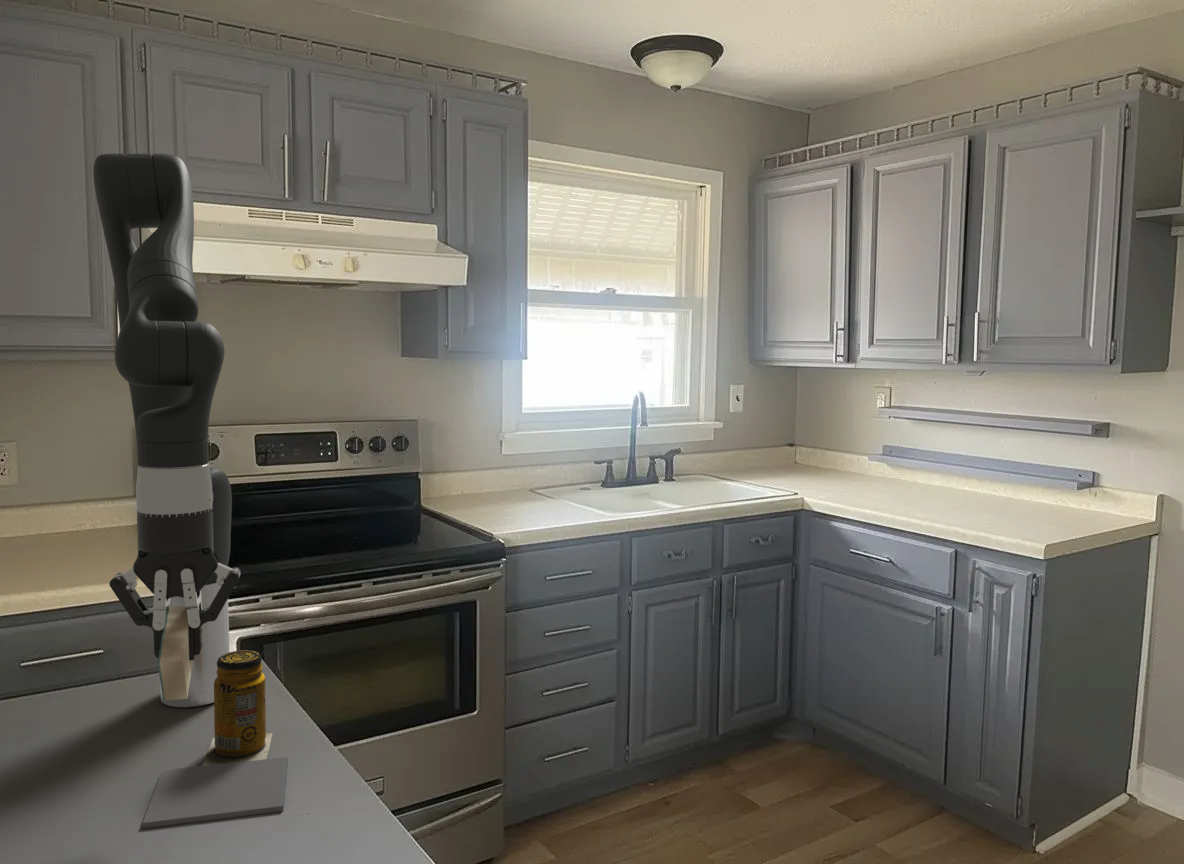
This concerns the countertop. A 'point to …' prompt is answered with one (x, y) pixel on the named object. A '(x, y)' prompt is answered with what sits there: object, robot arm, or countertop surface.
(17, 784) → the countertop surface
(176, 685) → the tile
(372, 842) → the countertop surface
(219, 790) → the mat
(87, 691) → the countertop surface
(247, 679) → the condiment
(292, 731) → the countertop surface
